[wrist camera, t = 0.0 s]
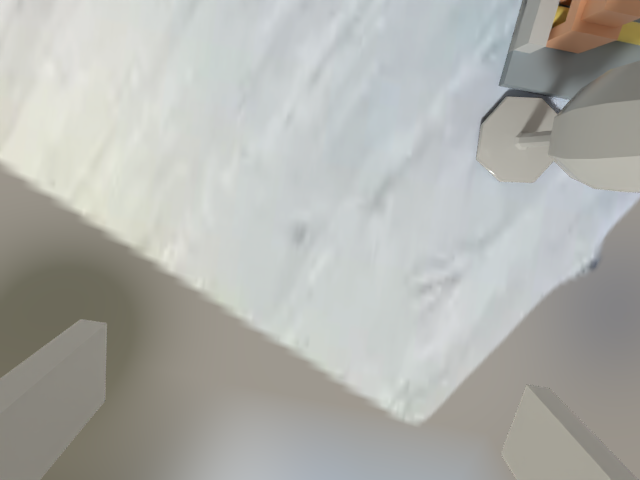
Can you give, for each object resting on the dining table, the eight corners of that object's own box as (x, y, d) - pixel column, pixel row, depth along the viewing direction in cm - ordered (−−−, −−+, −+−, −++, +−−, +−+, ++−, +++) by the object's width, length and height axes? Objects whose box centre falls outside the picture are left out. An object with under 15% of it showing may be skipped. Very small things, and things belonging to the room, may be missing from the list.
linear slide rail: (538, -56, 32) (578, -91, 27) (711, -17, 33) (779, -45, 28) (498, 85, 35) (528, 76, 30) (658, 117, 36) (711, 112, 31)
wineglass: (459, 166, 37) (650, 176, 16) (498, 81, 35) (766, -27, 14) (533, 196, 38) (800, 241, 17) (574, 115, 36) (926, 58, 15)
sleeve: (554, -11, 32) (617, -52, 25) (596, -2, 32) (669, -40, 25) (537, 45, 33) (593, 19, 26) (578, 53, 33) (643, 30, 27)
